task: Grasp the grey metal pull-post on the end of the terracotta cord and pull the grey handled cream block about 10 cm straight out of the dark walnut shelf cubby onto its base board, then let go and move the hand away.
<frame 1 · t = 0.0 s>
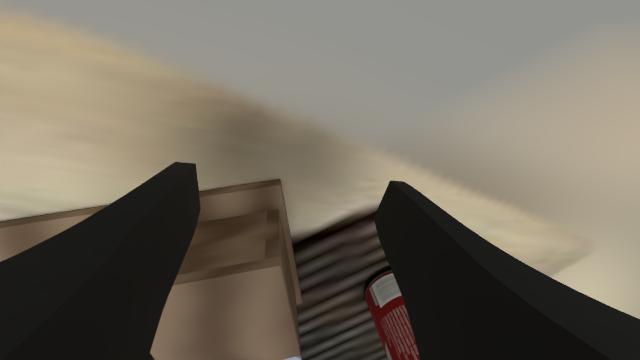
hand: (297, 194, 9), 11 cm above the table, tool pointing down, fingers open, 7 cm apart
walnut shelf: (225, 258, 23), on the table
soda can: (389, 283, 29), on the table
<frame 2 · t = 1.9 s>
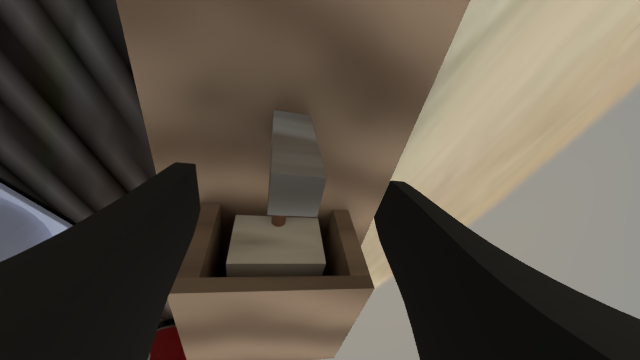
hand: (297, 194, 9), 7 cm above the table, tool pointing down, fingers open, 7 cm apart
walnut shelf: (274, 233, 20), on the table
grey handled cream block: (274, 243, 20), point 1 cm above the table, touching walnut shelf
soda can: (186, 329, 28), on the table
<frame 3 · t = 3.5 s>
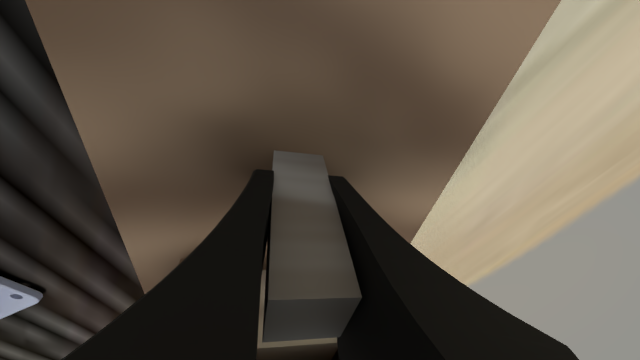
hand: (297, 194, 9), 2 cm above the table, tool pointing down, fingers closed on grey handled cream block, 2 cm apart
walnut shelf: (275, 282, 17), on the table
grey handled cream block: (275, 296, 16), point 1 cm above the table, touching gripper, walnut shelf
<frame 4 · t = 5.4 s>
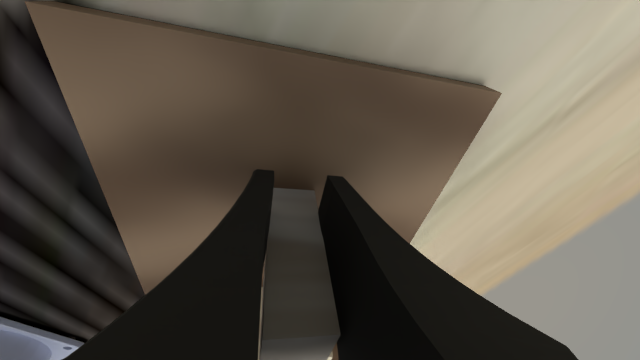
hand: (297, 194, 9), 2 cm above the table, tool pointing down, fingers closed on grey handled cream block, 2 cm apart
walnut shelf: (268, 327, 21), on the table
grey handled cream block: (272, 310, 17), point 1 cm above the table, touching gripper
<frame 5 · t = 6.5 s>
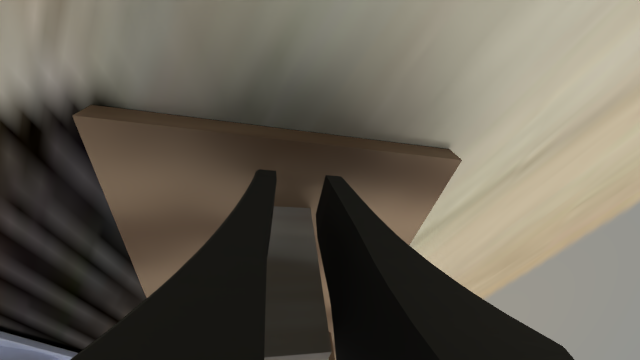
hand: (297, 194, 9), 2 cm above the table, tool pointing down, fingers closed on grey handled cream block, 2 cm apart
walnut shelf: (265, 342, 22), on the table
grey handled cream block: (272, 317, 18), point 1 cm above the table, touching gripper, walnut shelf
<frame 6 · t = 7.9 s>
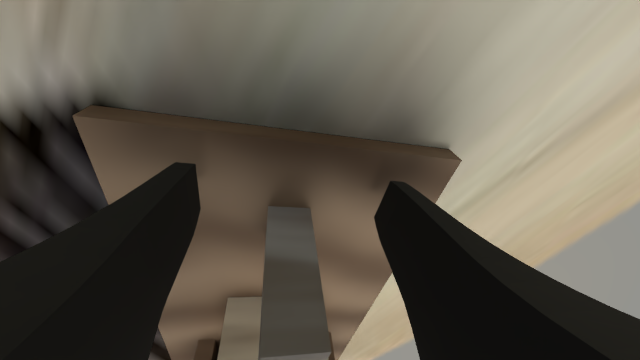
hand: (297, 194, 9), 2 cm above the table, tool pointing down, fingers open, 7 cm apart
walnut shelf: (265, 342, 22), on the table
grey handled cream block: (272, 317, 18), point 1 cm above the table, touching walnut shelf
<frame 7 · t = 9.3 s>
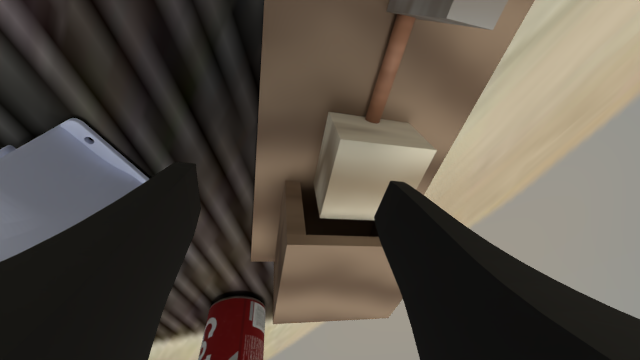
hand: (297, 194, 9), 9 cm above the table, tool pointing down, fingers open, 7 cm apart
walnut shelf: (334, 211, 23), on the table
grey handled cream block: (358, 154, 19), point 1 cm above the table, touching walnut shelf
soda can: (239, 303, 31), on the table
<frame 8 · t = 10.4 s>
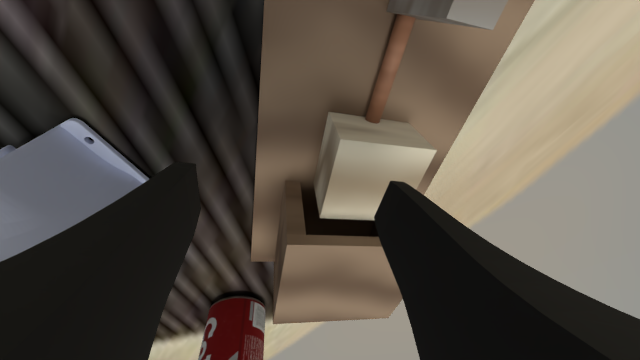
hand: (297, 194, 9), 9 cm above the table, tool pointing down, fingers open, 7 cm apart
walnut shelf: (334, 211, 23), on the table
grey handled cream block: (358, 154, 19), point 1 cm above the table, touching walnut shelf
soda can: (239, 303, 31), on the table
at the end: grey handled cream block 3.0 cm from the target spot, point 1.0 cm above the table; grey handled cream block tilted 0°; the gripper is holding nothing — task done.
